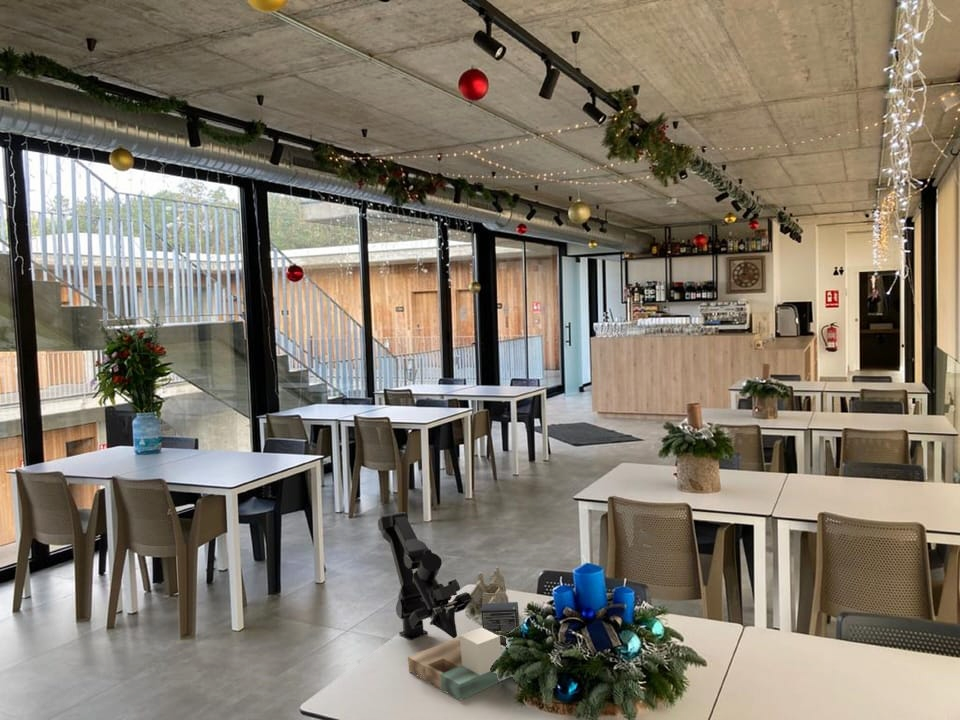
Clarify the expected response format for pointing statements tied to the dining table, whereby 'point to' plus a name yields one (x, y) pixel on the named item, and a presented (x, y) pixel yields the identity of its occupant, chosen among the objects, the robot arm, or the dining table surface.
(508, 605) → the small box
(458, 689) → the trap board
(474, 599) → the ceramic cottage
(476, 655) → the cream block
